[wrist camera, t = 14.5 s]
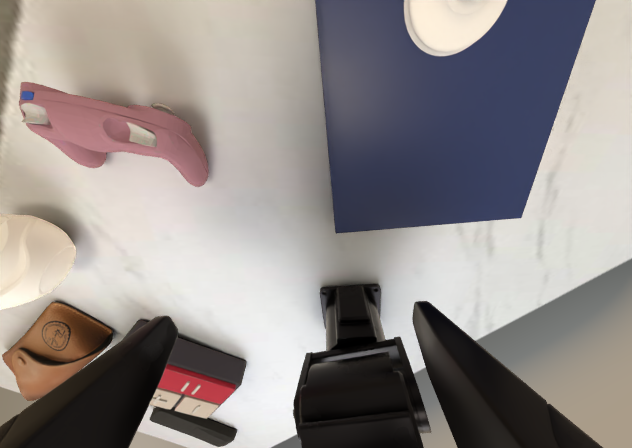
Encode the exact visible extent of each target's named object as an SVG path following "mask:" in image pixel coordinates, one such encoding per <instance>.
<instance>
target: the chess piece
mask: <svg viewBox="0 0 632 448" xmlns="http://www.w3.org/2000/svg"><path fill="white" fill-rule="evenodd" d="M506 2H507V0H404V18H405V23H406V27H407V30H408V33H409V35H410V37H411V39H412V40H413V42H414V43H415V44H416V46H417V47H418V48H420V49H421V50H422V51H424V52H426V53H428V54H430V55H434V56H448V55H453V54H456V53H458V52H461V51H463V50H464V49H466V48H468V47H469V46H471V45H472V44H473V43H475V42H476V41H477V40H479V39H480V38H481V37H482V36H483V35H484V34H485V33H486V32H487V31H488V30H489V29H490V28H491V27H492V26H493V24H494V23H495V22H496V20H497V19H498V17H499V16H500V14H501V12H502V11H503V9H504V7H505V5H506Z"/></svg>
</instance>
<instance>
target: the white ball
mask: <svg viewBox="0 0 632 448" xmlns="http://www.w3.org/2000/svg"><path fill="white" fill-rule="evenodd" d="M75 258H76V248H75V245H74V244H73V242H72V240H71V239H70V238H69V236H68V235H67V234H66V233H65V232H64V231H63V230H62V229H60V228H59V227H57V226H56V225H54V224H52V223H50V222H48V221H45V220H43V219H40V218H37V217H34V216H30V215H12V214H0V310H1V309H7V308H11V307H15V306H19V305H22V304H25V303H28V302H31V301H33V300H36V299H38V298H40V297H43V296H45V295H47V294H49V293H50V292H52V291H53V290H54V289H56V288H57V287H58V286H59V285H60V284H61V283H62V281H63V280H64V279H65V278H66V276H67V275H68V273H69V272H70V270H71V268H72V266H73V264H74V261H75Z"/></svg>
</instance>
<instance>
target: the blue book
mask: <svg viewBox="0 0 632 448" xmlns="http://www.w3.org/2000/svg"><path fill="white" fill-rule="evenodd" d="M595 1H596V0H507V2H506V5H505V7H504V9H503V11H502V12H501V14H500V16H499V17H498V19H497V20H496V22H495V23H494V24H493V26H492V27H491V28H490V29H489V30H488V31H487V32H486V33H485V34H484V35H483V36H482V37H481V38H480V39H479V40H477V41H476V42H475V43H473V44H472V45H471V46H469V47H468V48H466V49H464V50H463V51H461V52H458V53H456V54H453V55H448V56H434V55H430V54H428V53H426V52H424V51H422V50H421V49H420V48H418V47H417V46H416V44H415V43H414V42H413V40H412V39H411V37H410V35H409V33H408V30H407V27H406V23H405V18H404V0H315V3H316V15H317V26H318V38H319V49H320V61H321V72H322V84H323V95H324V107H325V118H326V130H327V141H328V153H329V164H330V176H331V187H332V199H333V210H334V221H335V232H336V233H347V232H359V231H370V230H382V229H394V228H406V227H418V226H430V225H442V224H454V223H466V222H478V221H490V220H502V219H514V218H521V217H522V214H523V211H524V208H525V205H526V202H527V200H528V197H529V194H530V191H531V188H532V185H533V182H534V179H535V176H536V173H537V170H538V167H539V165H540V162H541V159H542V156H543V153H544V150H545V147H546V144H547V141H548V138H549V135H550V132H551V129H552V127H553V124H554V121H555V118H556V115H557V112H558V109H559V106H560V103H561V100H562V97H563V94H564V92H565V89H566V86H567V83H568V80H569V77H570V74H571V71H572V68H573V65H574V62H575V59H576V56H577V54H578V51H579V48H580V45H581V42H582V39H583V36H584V33H585V30H586V27H587V24H588V21H589V18H590V16H591V13H592V10H593V7H594V4H595Z"/></svg>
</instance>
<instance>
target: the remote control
mask: <svg viewBox="0 0 632 448" xmlns="http://www.w3.org/2000/svg"><path fill="white" fill-rule="evenodd" d="M175 408H176V407H172V408H171V409H165V408H161V407H156V408H155V409H154V410H153V412H152V415H151V417H150V420H151V421H152V422H155V423H158V424H160V425H163V426H166V427H168V428H171V429H174V430H177V431H179V432H182V433H185V434H188V435H190V436H193V437H195V438H198V439H200V440H203V441H205V442H208V443H210V444H212V445H215V446H217V447H221V446H225V445H227V444H228V443H230V442H232V441H233V440H234V438H235V436H236V433H237V431H236V430H235V429H232V428H230V427H227V426H225V425H222V424H220V423H217V422H215V421H212V420H209V419H207V418H201V417H197V416H193V415H189V414H185V413H181V412H177V411H175Z"/></svg>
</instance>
